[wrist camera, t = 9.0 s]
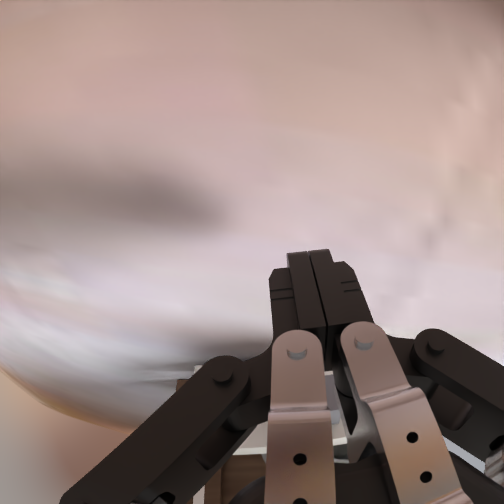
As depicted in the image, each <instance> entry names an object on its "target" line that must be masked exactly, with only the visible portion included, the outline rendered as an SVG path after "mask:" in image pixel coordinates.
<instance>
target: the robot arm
mask: <svg viewBox="0 0 504 504" xmlns="http://www.w3.org/2000/svg"><path fill="white" fill-rule="evenodd" d="M269 288H270V299H271V311H272V323H273V341H272V343H271V345H270V347H269V348H268V349H267V350H266V351H265V352H264V353H262V354H261V355H259V356H257V357H255V358H252V359H249V360H246V361H244V362H243V361H241V360H240V359H238V358H236V357H233V356H219V357H215V358H213V359H211V360H209V361H207V362H206V363H205V364H204V365H203V366H202V367H201V368H200V369H199V370H198V371H197V372H196V373H195V374H194V375H193V376H192V377H191V378H190V379H189V380H188V381H187V382H186V383H185V384H184V385H183V386H181V387H180V388H179V389H178V390H177V391H176V392H175V393H174V394H173V395H172V396H171V397H170V398H169V399H168V400H167V401H166V402H165V403H164V404H163V405H162V406H161V407H160V408H159V409H158V410H156V411H155V412H154V413H153V414H152V415H151V416H150V417H149V418H148V419H147V420H146V421H145V422H144V423H143V424H142V425H140V426H139V427H138V428H137V429H136V430H135V431H134V432H133V433H132V434H131V435H130V436H129V437H128V438H126V440H124V441H123V442H122V443H121V444H120V445H119V446H118V447H117V448H116V449H114V450H113V451H112V452H111V453H110V454H109V455H108V456H107V457H105V458H104V459H103V460H102V461H101V462H100V463H99V464H98V465H97V466H95V467H94V468H93V469H92V470H91V471H90V472H89V473H87V474H86V475H85V476H84V477H83V478H82V479H80V480H79V481H78V482H77V483H76V484H75V485H74V486H73V487H71V488H70V489H69V490H68V491H67V492H66V493H64V494H63V496H62V497H61V500H60V503H59V504H186V503H187V502H188V501H189V500H190V499H191V498H192V497H193V496H194V495H195V494H196V493H197V492H198V491H199V490H200V489H201V488H202V487H203V486H204V485H205V484H206V483H207V482H208V481H209V480H210V479H211V478H212V476H213V475H214V474H215V473H216V472H217V471H218V470H219V469H220V468H221V467H222V466H223V465H224V464H225V462H226V461H227V460H228V459H229V458H230V457H231V456H232V455H233V454H234V452H235V451H236V450H237V449H238V448H239V447H240V446H241V445H242V443H243V442H244V441H245V440H246V439H247V438H248V436H249V435H250V434H251V433H252V432H253V431H254V429H255V428H256V427H257V425H258V424H261V423H264V422H266V421H268V430H267V454H266V475H265V476H262V477H260V478H258V479H256V480H254V481H252V482H251V483H249V484H248V485H247V486H245V487H244V488H243V489H241V490H240V491H239V492H238V493H237V494H236V495H235V496H234V497H233V498H232V500H231V501H230V502H229V503H228V504H504V366H502V365H501V364H499V363H497V362H496V361H494V360H492V359H491V358H489V357H487V356H486V355H484V354H482V353H481V352H479V351H477V350H476V349H474V348H472V347H471V346H469V345H467V344H465V343H464V342H462V341H460V340H459V339H457V338H455V337H453V336H452V335H450V334H448V333H447V332H445V331H443V330H440V329H426V330H424V331H422V332H420V333H419V334H418V335H417V337H416V338H415V339H406V338H397V337H392V336H389V335H387V334H386V333H385V332H384V330H383V329H382V328H381V327H379V326H378V325H376V324H375V323H374V321H373V318H372V316H371V313H370V310H369V308H368V305H367V302H366V300H365V297H364V295H363V292H362V291H361V287H360V285H359V282H358V280H357V277H356V275H355V272H354V270H353V269H352V268H351V267H350V266H349V265H348V264H347V263H346V262H344V261H342V262H333V259H332V256H331V254H330V251H329V249H322V250H313V251H308V252H307V251H304V252H295V253H287V268H279V269H274V270H273V272H272V274H271V276H270V278H269ZM326 371H333V376H334V386H333V391H334V395H335V398H336V402H337V406H338V409H339V413H340V416H341V420H342V423H343V427H344V431H345V434H346V439H347V454H348V460H349V463H334V452H333V437H332V424H331V414H330V409H329V408H328V405H327V396H326V385H325V374H324V372H326ZM442 435H443V436H444V437H446V438H447V439H449V440H450V441H452V442H453V443H455V444H456V445H458V446H460V447H461V448H463V449H464V450H466V451H467V452H469V453H470V454H472V455H474V456H475V457H477V458H478V459H480V460H481V461H483V462H485V470H484V474H483V473H482V472H480V471H479V470H478V469H476V468H474V467H473V466H472V465H470V464H469V463H467V462H466V461H465V460H463V459H462V458H460V457H459V456H457V455H456V454H454V453H452V452H450V451H448V449H447V447H446V444H445V441H444V439H443V437H442Z"/></svg>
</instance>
